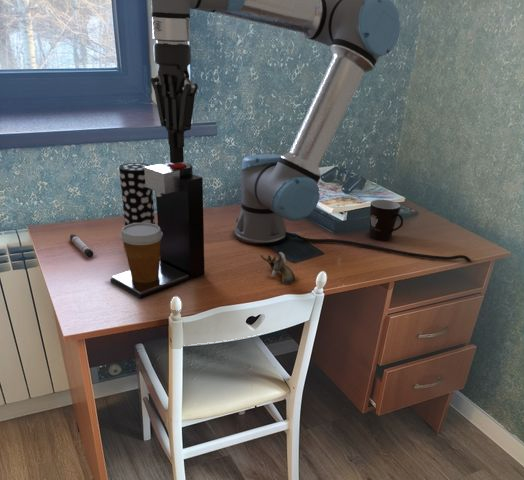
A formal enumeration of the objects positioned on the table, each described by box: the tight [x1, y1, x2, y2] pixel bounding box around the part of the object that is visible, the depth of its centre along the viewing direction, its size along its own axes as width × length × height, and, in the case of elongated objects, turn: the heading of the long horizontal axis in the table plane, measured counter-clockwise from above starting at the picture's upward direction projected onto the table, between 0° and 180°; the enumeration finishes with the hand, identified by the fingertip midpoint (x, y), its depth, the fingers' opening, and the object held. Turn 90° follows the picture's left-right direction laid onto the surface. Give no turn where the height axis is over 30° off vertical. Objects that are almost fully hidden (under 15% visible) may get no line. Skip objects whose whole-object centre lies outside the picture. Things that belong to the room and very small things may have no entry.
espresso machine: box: [109, 163, 192, 300], centre depth 123 cm, size 12×15×26 cm
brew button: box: [169, 161, 186, 168], centre depth 122 cm, size 4×4×2 cm
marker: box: [69, 234, 94, 258], centre depth 145 cm, size 15×2×2 cm, turn 35°
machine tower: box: [155, 162, 206, 281], centre depth 129 cm, size 12×6×26 cm, turn 47°
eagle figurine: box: [260, 251, 296, 285], centre depth 133 cm, size 8×7×9 cm
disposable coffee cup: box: [119, 223, 163, 283], centre depth 125 cm, size 10×10×12 cm
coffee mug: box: [368, 199, 404, 242], centre depth 158 cm, size 12×9×10 cm
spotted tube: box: [118, 162, 156, 226], centre depth 147 cm, size 8×8×20 cm
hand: (177, 161), depth 121 cm, fingers closed
